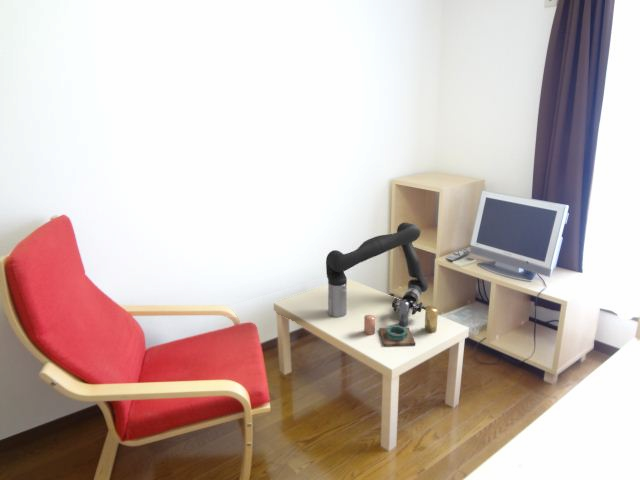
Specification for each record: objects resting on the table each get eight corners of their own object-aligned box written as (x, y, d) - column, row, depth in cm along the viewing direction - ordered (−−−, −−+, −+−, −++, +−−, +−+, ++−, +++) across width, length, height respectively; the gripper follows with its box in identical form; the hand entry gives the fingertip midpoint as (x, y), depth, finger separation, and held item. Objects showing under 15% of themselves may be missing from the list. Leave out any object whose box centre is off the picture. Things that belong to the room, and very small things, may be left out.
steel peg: (399, 327, 215) (400, 304, 212) (397, 322, 220) (398, 300, 216) (408, 326, 216) (409, 304, 212) (406, 322, 220) (407, 300, 216)
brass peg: (426, 332, 210) (427, 311, 207) (423, 327, 215) (424, 306, 212) (437, 332, 210) (439, 311, 207) (434, 326, 215) (436, 305, 212)
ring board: (384, 346, 199) (384, 338, 198) (379, 330, 213) (379, 323, 212) (415, 345, 200) (415, 338, 199) (408, 329, 213) (408, 322, 212)
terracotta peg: (364, 335, 209) (365, 319, 206) (363, 329, 214) (363, 314, 211) (375, 334, 209) (375, 319, 206) (373, 329, 214) (374, 314, 211)
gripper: (397, 289, 231) (389, 302, 217) (425, 293, 226) (419, 306, 212) (397, 302, 234) (389, 315, 219) (424, 306, 228) (418, 321, 214)
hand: (403, 311), depth 216 cm, fingers open, 8 cm apart
